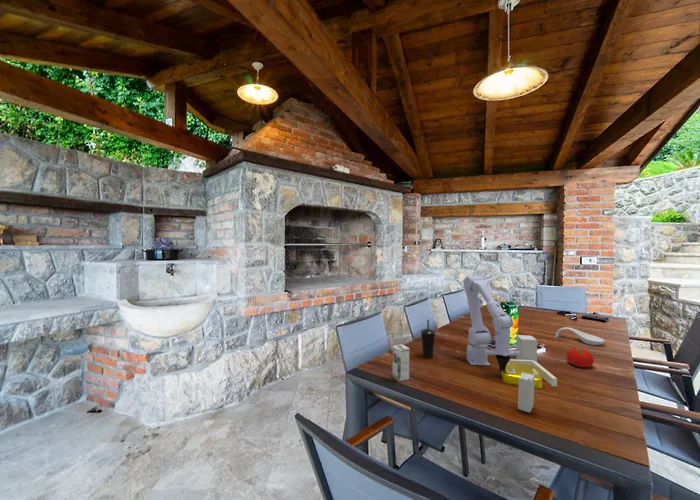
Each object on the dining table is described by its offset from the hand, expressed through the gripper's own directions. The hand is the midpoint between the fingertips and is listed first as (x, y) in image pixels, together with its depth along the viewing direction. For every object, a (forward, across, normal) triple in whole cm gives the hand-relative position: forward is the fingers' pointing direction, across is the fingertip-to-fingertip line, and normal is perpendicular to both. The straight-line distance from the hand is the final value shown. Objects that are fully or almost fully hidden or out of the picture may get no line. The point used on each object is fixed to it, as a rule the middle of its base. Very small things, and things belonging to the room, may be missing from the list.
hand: (502, 370), depth 138 cm
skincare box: (+3, -1, -26) cm, 26 cm away
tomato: (+3, +43, +16) cm, 46 cm away
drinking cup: (+3, -30, +20) cm, 36 cm away
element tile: (+3, +7, -2) cm, 8 cm away
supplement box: (+3, +19, +18) cm, 26 cm away
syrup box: (+3, -46, -6) cm, 47 cm away
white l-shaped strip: (+2, +11, +2) cm, 12 cm away
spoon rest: (+3, +65, +53) cm, 83 cm away
